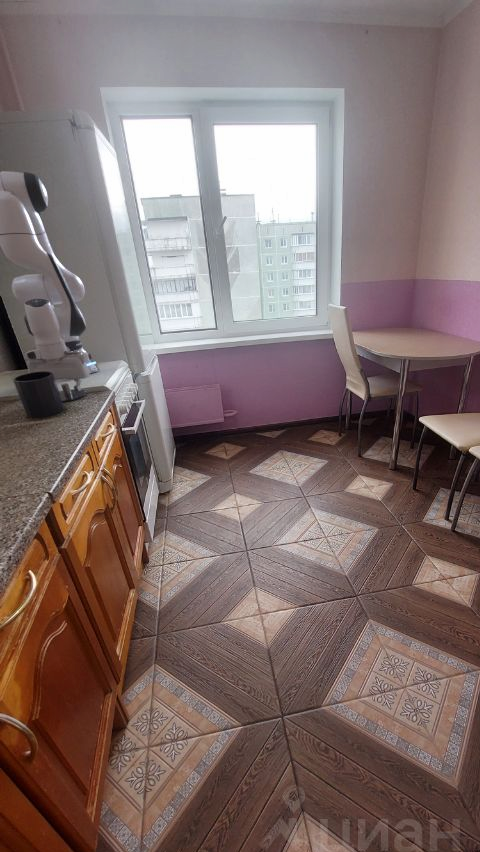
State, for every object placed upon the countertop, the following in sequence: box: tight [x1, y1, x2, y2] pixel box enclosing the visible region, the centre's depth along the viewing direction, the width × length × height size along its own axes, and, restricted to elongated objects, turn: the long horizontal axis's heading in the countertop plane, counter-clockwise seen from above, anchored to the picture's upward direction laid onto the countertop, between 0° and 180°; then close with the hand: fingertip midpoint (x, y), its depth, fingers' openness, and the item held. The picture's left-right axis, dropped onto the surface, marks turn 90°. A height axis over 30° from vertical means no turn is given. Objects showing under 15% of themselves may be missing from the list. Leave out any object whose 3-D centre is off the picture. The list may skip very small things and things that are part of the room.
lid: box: [59, 382, 87, 403], centre depth 138 cm, size 12×12×5 cm
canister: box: [12, 371, 66, 419], centre depth 124 cm, size 11×11×12 cm
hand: (65, 390), depth 138 cm, fingers open, 8 cm apart
